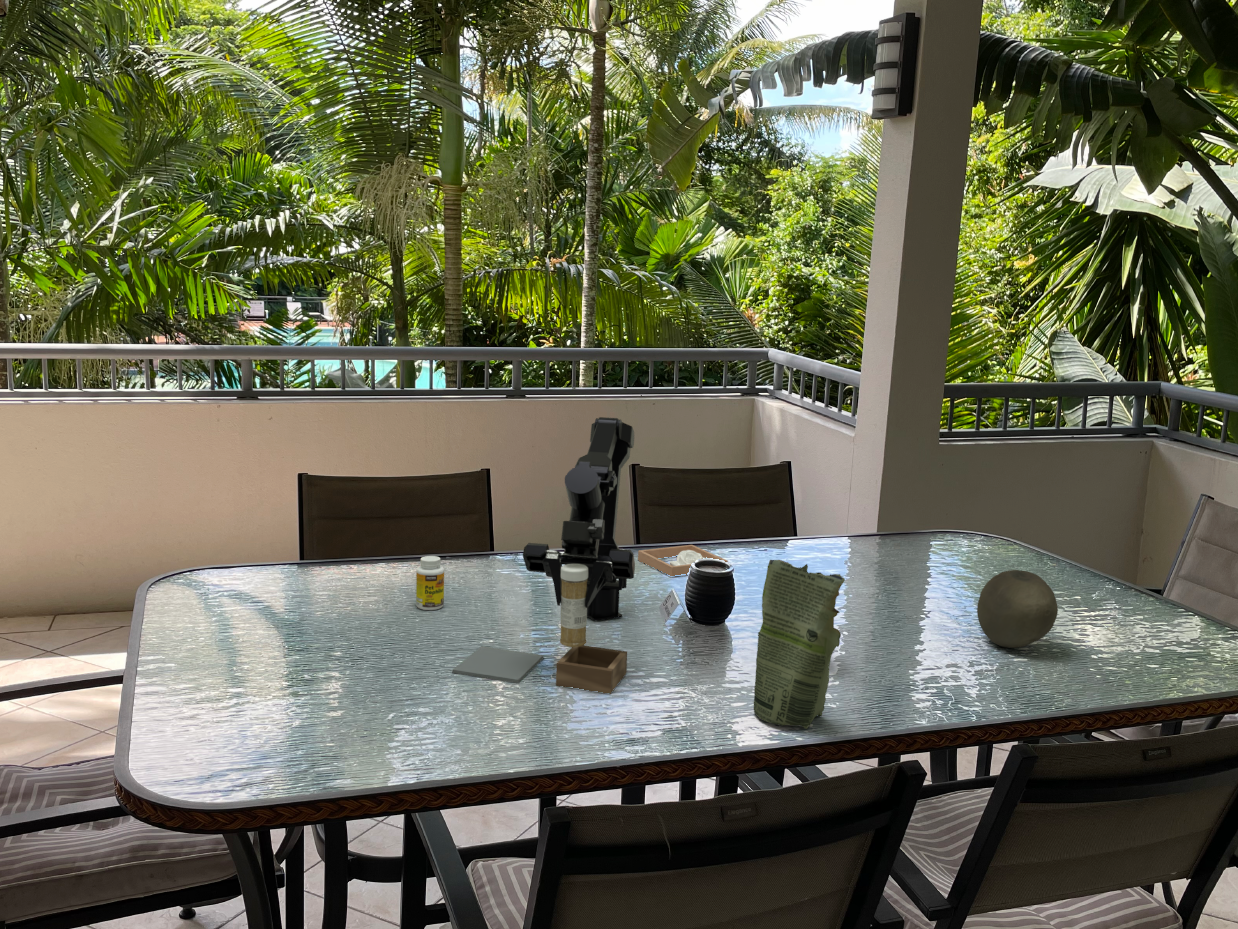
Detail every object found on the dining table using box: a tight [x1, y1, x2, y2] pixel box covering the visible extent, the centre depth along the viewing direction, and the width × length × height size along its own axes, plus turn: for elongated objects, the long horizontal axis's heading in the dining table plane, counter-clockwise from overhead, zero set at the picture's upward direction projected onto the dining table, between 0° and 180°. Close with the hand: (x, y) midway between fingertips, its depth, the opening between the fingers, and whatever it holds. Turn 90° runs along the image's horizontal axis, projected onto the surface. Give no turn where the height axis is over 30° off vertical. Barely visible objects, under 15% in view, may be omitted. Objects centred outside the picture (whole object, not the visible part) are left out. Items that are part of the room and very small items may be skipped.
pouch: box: [753, 559, 846, 730], centre depth 154 cm, size 11×12×25 cm
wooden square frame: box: [637, 544, 729, 576], centre depth 239 cm, size 16×16×2 cm
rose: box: [669, 550, 704, 566], centre depth 238 cm, size 10×4×10 cm
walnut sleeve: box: [555, 644, 628, 695], centre depth 168 cm, size 10×10×4 cm
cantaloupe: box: [976, 569, 1059, 649], centre depth 190 cm, size 14×14×15 cm
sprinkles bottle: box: [559, 564, 588, 648], centre depth 166 cm, size 5×5×13 cm
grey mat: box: [451, 645, 545, 684], centre depth 173 cm, size 12×12×1 cm
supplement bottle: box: [415, 555, 445, 611], centre depth 201 cm, size 6×6×10 cm
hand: (572, 605), depth 165 cm, fingers closed on sprinkles bottle, 4 cm apart
